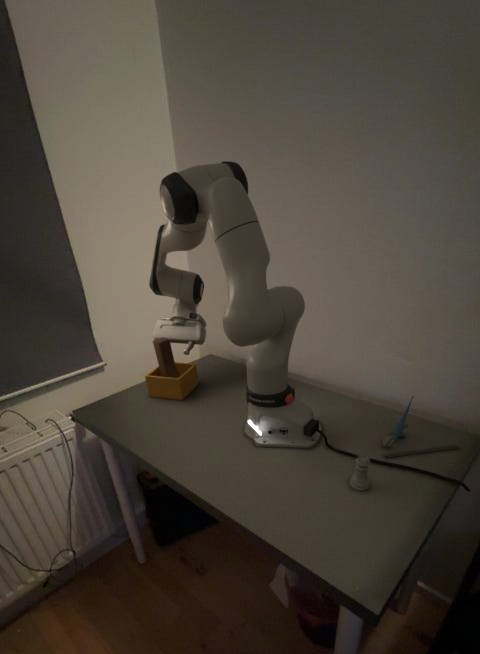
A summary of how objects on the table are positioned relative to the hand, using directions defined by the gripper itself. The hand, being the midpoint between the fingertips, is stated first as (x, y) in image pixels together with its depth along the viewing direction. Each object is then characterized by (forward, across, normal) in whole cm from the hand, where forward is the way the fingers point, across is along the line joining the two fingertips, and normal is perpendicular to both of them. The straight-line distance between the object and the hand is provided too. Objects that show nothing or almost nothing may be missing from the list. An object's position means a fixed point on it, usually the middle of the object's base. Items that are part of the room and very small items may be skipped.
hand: (174, 353), depth 127 cm
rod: (+25, +83, -7) cm, 87 cm away
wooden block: (+12, +1, +5) cm, 13 cm away
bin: (+12, 0, +6) cm, 13 cm away
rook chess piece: (+37, +68, -19) cm, 80 cm away
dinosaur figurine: (+22, +76, -4) cm, 79 cm away
